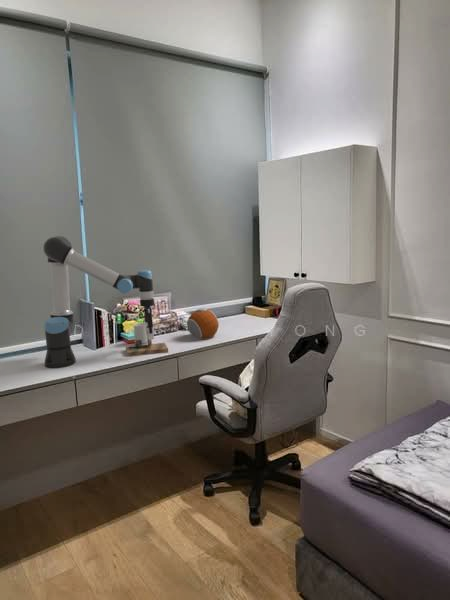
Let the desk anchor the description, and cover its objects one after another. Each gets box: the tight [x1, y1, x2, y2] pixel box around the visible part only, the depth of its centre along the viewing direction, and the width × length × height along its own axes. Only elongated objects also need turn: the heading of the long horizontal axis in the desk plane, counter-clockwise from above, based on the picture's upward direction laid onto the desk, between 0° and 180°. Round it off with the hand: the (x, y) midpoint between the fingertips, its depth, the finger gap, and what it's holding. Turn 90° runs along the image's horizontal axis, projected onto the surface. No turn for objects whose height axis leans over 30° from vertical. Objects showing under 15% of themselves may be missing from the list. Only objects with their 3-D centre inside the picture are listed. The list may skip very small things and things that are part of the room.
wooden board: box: [125, 342, 169, 357], centre depth 264 cm, size 22×13×2 cm, turn 105°
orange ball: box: [186, 307, 220, 340], centre depth 291 cm, size 19×18×17 cm
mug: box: [133, 322, 155, 345], centre depth 282 cm, size 12×9×11 cm
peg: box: [127, 331, 153, 348], centre depth 263 cm, size 13×3×9 cm, turn 105°
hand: (149, 336), depth 264 cm, fingers open, 13 cm apart
